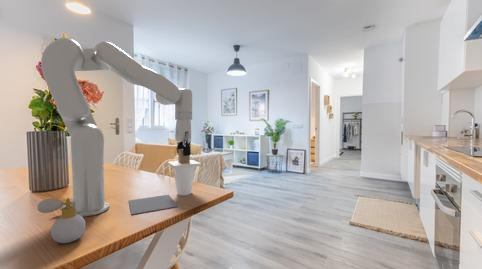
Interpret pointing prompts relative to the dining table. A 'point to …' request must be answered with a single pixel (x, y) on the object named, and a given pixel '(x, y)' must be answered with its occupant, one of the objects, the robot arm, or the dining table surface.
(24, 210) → the dining table surface
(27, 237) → the dining table surface
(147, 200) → the mat
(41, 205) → the perfume bottle
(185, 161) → the lid
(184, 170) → the foam cup
